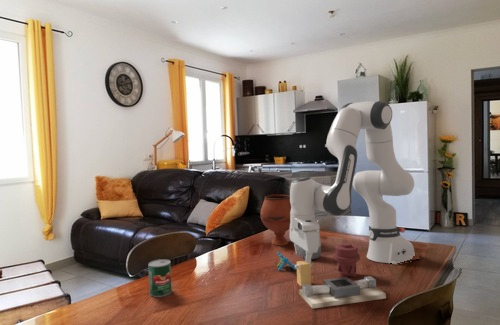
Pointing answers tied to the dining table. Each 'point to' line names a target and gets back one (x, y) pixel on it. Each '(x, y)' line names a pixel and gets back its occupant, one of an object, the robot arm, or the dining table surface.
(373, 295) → the board
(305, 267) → the coupler
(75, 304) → the dining table surface
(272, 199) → the goblet
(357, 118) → the robot arm
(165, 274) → the canned tomato
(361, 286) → the shaft assembly
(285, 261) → the blue toothed wheel
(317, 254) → the smart speaker
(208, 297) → the dining table surface
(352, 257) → the mechanical component
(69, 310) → the dining table surface
